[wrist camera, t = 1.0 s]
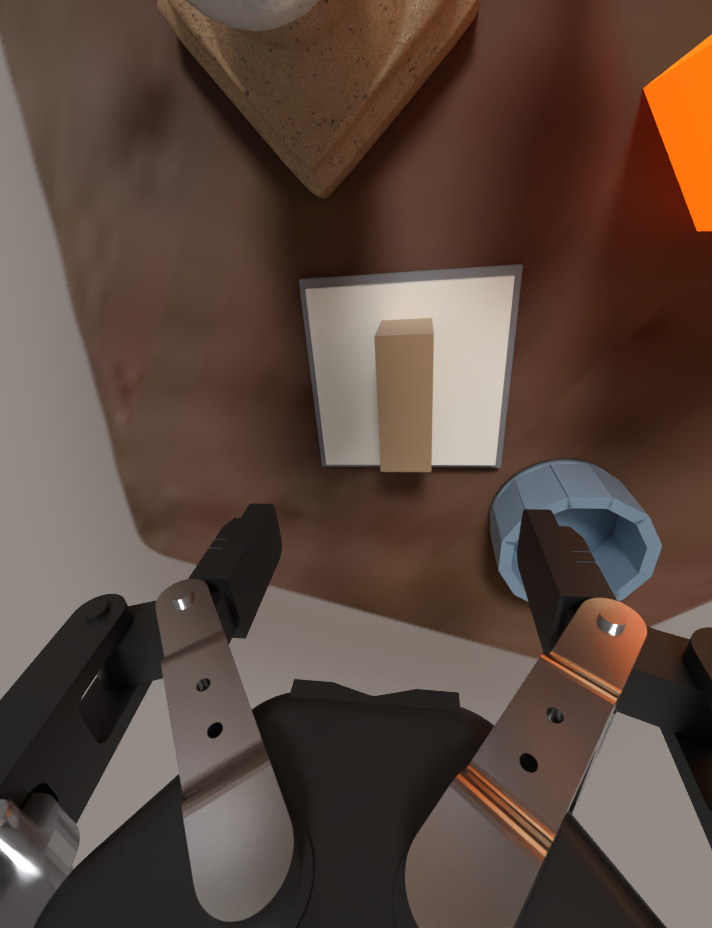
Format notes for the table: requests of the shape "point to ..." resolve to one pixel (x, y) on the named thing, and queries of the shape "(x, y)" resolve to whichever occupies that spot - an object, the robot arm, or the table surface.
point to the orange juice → (688, 126)
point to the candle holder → (319, 69)
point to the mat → (412, 277)
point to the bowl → (577, 521)
